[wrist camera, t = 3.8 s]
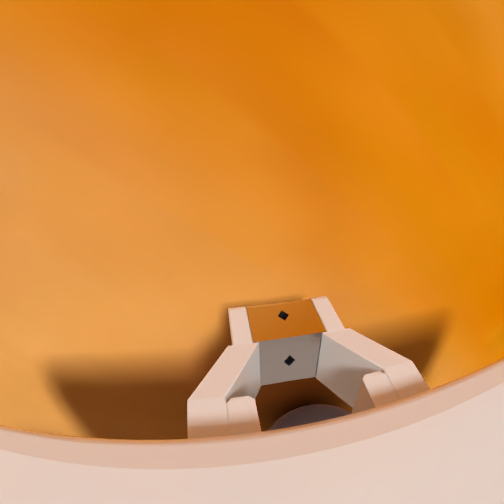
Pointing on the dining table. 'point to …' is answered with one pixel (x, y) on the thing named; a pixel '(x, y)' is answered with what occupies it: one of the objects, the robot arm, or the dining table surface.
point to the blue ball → (308, 415)
